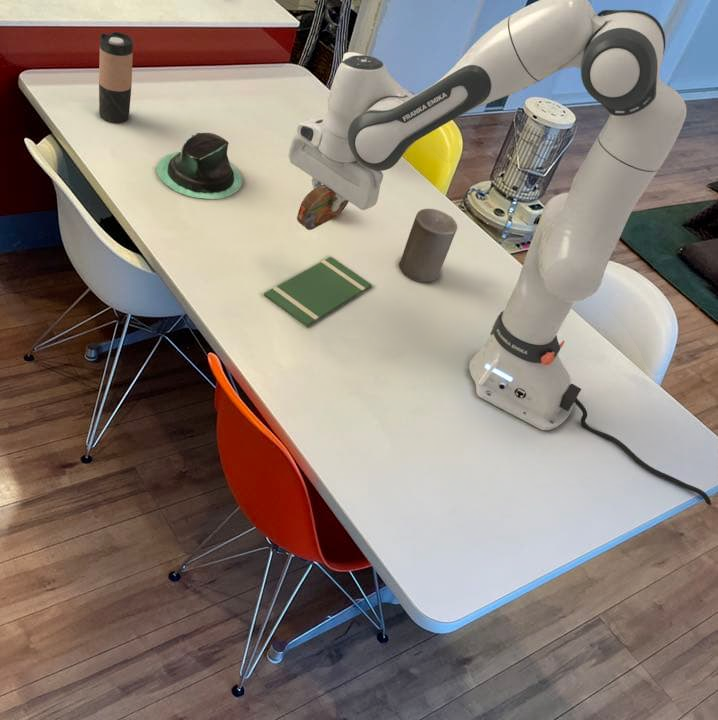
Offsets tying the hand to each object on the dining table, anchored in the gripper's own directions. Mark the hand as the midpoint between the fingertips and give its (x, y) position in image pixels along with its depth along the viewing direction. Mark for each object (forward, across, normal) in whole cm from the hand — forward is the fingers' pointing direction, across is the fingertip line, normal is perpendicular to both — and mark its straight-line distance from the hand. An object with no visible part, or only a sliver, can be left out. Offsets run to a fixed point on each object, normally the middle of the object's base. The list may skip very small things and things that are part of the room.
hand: (325, 204), depth 154 cm
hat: (+21, +42, -9) cm, 48 cm away
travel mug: (+21, +73, -10) cm, 77 cm away
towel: (+20, -4, 0) cm, 20 cm away
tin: (+4, +1, 0) cm, 4 cm away
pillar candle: (+20, -13, -26) cm, 35 cm away
